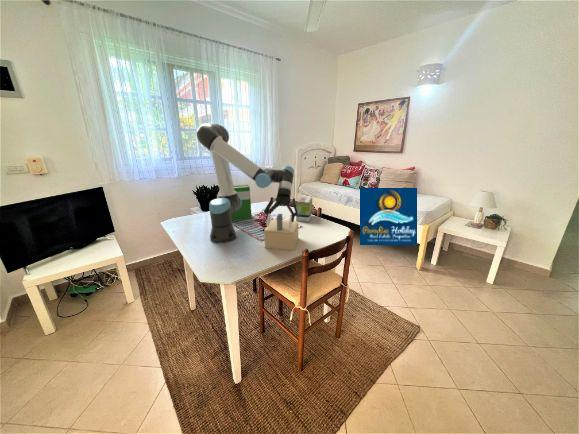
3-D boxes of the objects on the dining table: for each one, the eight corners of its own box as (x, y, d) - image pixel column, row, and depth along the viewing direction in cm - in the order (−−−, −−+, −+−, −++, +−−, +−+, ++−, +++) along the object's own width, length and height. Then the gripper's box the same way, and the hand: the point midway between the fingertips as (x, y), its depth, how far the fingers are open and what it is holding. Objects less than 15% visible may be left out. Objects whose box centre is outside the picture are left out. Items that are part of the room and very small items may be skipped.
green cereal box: (250, 215, 175) (248, 184, 167) (251, 218, 169) (249, 186, 161) (226, 217, 170) (223, 186, 162) (227, 221, 164) (224, 188, 156)
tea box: (309, 222, 161) (310, 202, 156) (295, 221, 163) (295, 201, 158) (311, 215, 175) (312, 196, 170) (299, 214, 177) (299, 196, 172)
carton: (264, 247, 124) (264, 231, 121) (272, 235, 139) (272, 221, 136) (293, 250, 121) (293, 234, 118) (298, 237, 136) (298, 223, 133)
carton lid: (264, 231, 121) (263, 216, 118) (272, 221, 136) (271, 207, 133) (293, 233, 118) (293, 217, 115) (298, 222, 133) (298, 208, 130)
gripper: (305, 195, 129) (301, 230, 120) (266, 193, 133) (258, 227, 124) (304, 188, 122) (300, 224, 113) (262, 186, 126) (255, 221, 117)
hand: (278, 226), depth 119 cm, fingers open, 11 cm apart
